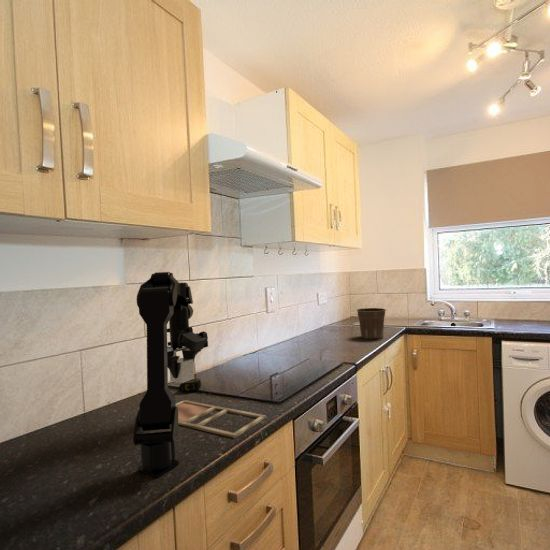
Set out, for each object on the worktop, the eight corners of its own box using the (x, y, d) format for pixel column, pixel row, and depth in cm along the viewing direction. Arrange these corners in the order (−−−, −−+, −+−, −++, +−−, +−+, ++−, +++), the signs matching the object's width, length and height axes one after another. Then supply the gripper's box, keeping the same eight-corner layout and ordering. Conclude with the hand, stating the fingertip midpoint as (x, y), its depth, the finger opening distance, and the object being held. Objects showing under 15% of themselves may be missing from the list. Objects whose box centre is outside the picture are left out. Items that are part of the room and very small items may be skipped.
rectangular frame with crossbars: (234, 438, 96) (234, 435, 96) (149, 417, 113) (149, 415, 113) (266, 417, 108) (266, 415, 108) (184, 401, 125) (184, 399, 125)
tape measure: (186, 387, 142) (186, 377, 142) (204, 387, 141) (203, 377, 140) (178, 393, 135) (178, 383, 135) (197, 393, 134) (196, 382, 134)
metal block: (182, 383, 112) (181, 362, 112) (170, 381, 114) (169, 361, 114) (194, 378, 116) (193, 358, 116) (182, 376, 119) (181, 357, 119)
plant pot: (390, 335, 220) (388, 307, 219) (383, 340, 206) (381, 311, 205) (362, 334, 228) (361, 307, 228) (354, 339, 214) (352, 311, 214)
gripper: (174, 330, 103) (177, 387, 103) (219, 320, 119) (222, 370, 119) (147, 329, 109) (150, 383, 109) (193, 320, 124) (196, 367, 125)
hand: (182, 375), depth 115 cm, fingers closed on metal block, 5 cm apart
